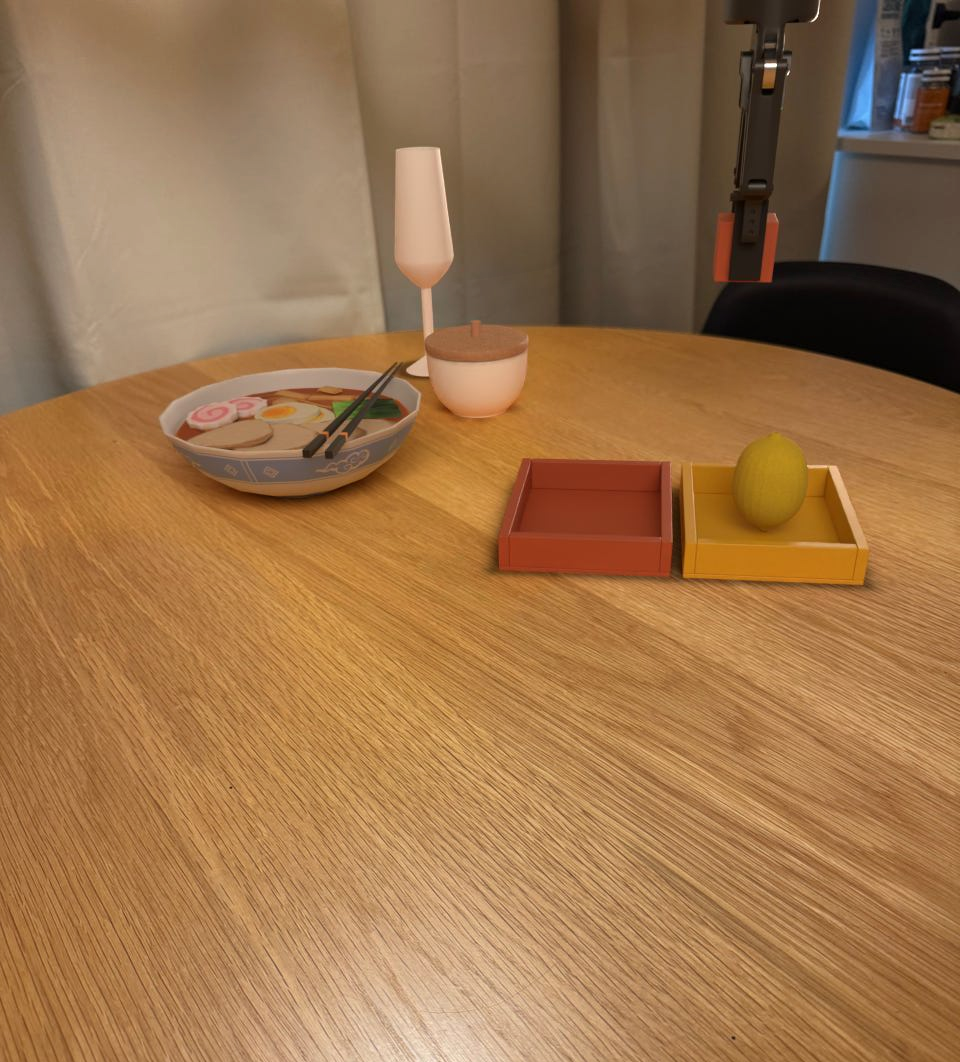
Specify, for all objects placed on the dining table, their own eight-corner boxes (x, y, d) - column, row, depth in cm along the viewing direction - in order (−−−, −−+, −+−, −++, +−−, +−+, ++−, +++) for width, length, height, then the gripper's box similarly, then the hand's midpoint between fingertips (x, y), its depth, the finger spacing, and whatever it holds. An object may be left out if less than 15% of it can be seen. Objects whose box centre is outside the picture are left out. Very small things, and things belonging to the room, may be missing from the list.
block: (767, 270, 93) (774, 212, 91) (771, 282, 89) (779, 222, 87) (712, 270, 94) (718, 212, 92) (714, 281, 90) (719, 222, 87)
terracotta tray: (668, 495, 86) (670, 461, 85) (669, 580, 73) (672, 541, 72) (523, 491, 88) (522, 457, 87) (498, 573, 75) (497, 535, 74)
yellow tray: (831, 500, 84) (837, 465, 83) (862, 588, 71) (870, 549, 70) (679, 495, 86) (681, 461, 85) (682, 580, 73) (685, 542, 72)
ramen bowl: (240, 431, 104) (227, 352, 100) (455, 440, 100) (451, 358, 95) (119, 535, 83) (96, 441, 79) (384, 552, 79) (375, 453, 75)
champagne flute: (391, 374, 120) (373, 151, 107) (425, 360, 124) (412, 145, 112) (436, 382, 116) (423, 153, 104) (470, 367, 121) (461, 146, 108)
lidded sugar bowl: (482, 435, 101) (478, 340, 96) (408, 414, 107) (401, 324, 102) (549, 407, 107) (549, 317, 102) (476, 389, 114) (473, 303, 109)
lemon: (787, 552, 75) (801, 450, 71) (716, 536, 78) (726, 437, 74) (810, 524, 79) (824, 426, 75) (742, 510, 82) (753, 415, 78)
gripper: (722, -29, 87) (699, 253, 100) (730, -38, 72) (701, 295, 85) (812, -32, 86) (777, 253, 98) (839, -43, 71) (794, 296, 83)
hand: (742, 272), depth 91 cm, fingers closed on block, 5 cm apart
